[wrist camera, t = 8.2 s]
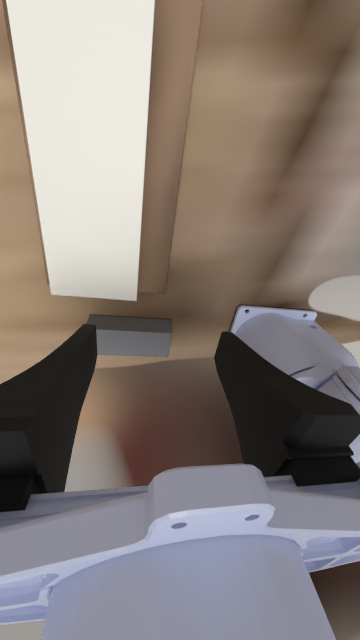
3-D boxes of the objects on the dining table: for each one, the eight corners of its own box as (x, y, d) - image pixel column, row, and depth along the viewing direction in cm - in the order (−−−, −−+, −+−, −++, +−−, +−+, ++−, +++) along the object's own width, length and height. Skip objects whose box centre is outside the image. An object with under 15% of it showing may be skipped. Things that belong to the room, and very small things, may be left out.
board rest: (169, 319, 24) (171, 333, 22) (166, 342, 26) (168, 356, 24) (90, 314, 23) (84, 328, 20) (91, 338, 24) (86, 354, 22)
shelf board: (137, 288, 16) (136, 301, 14) (61, 281, 15) (51, 294, 14) (157, -37, 9) (159, -86, 7) (16, -87, 8) (-18, -156, 6)
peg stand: (200, -3, 13) (228, -94, 8) (164, 288, 22) (168, 316, 18) (1, -70, 11) (-93, -231, 7) (52, 278, 20) (27, 307, 16)
